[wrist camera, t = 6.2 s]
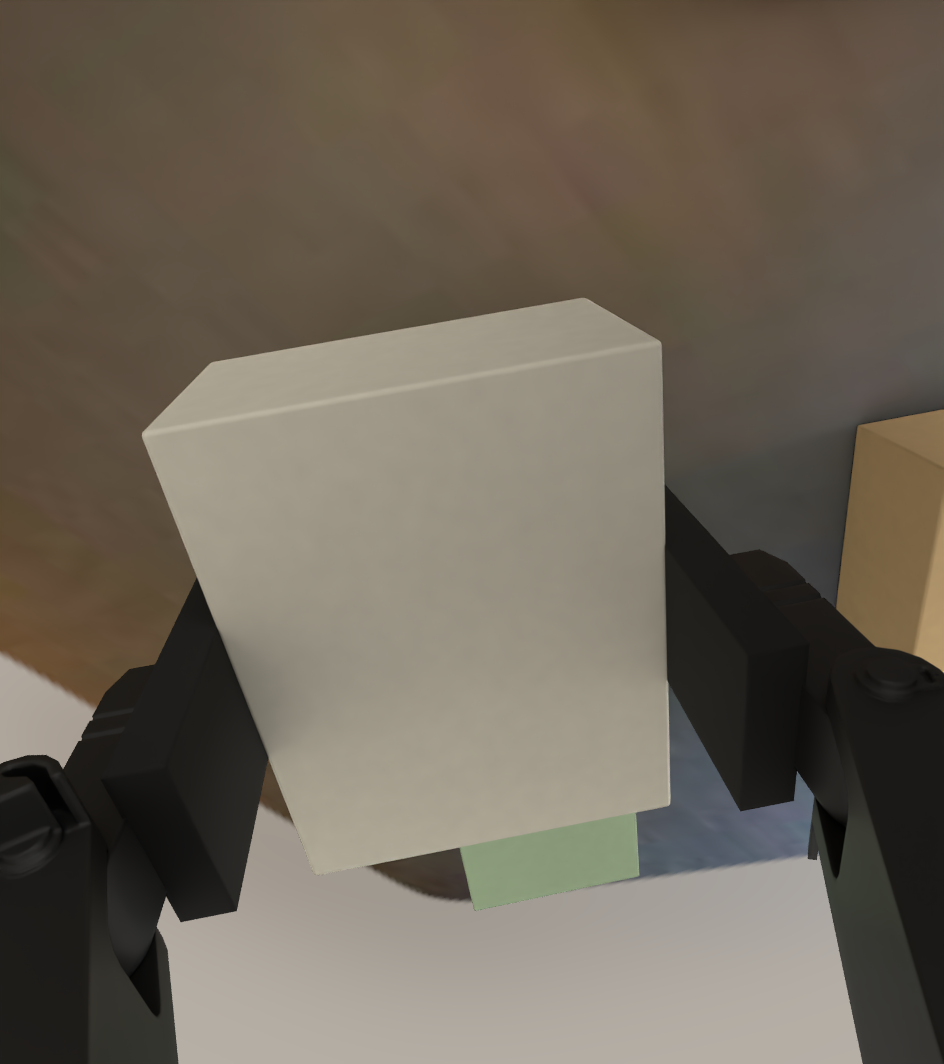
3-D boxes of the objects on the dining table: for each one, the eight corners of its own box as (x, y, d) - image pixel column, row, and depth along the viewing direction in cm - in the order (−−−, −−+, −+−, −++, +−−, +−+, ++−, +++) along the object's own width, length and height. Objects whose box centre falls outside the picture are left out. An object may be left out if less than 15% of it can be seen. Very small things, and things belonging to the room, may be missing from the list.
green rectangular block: (427, 663, 24) (435, 745, 21) (593, 630, 24) (630, 706, 21) (462, 819, 28) (474, 911, 24) (606, 789, 28) (639, 876, 24)
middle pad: (208, 362, 12) (136, 433, 9) (586, 296, 13) (664, 340, 9) (328, 730, 17) (313, 878, 13) (611, 675, 17) (671, 807, 13)
